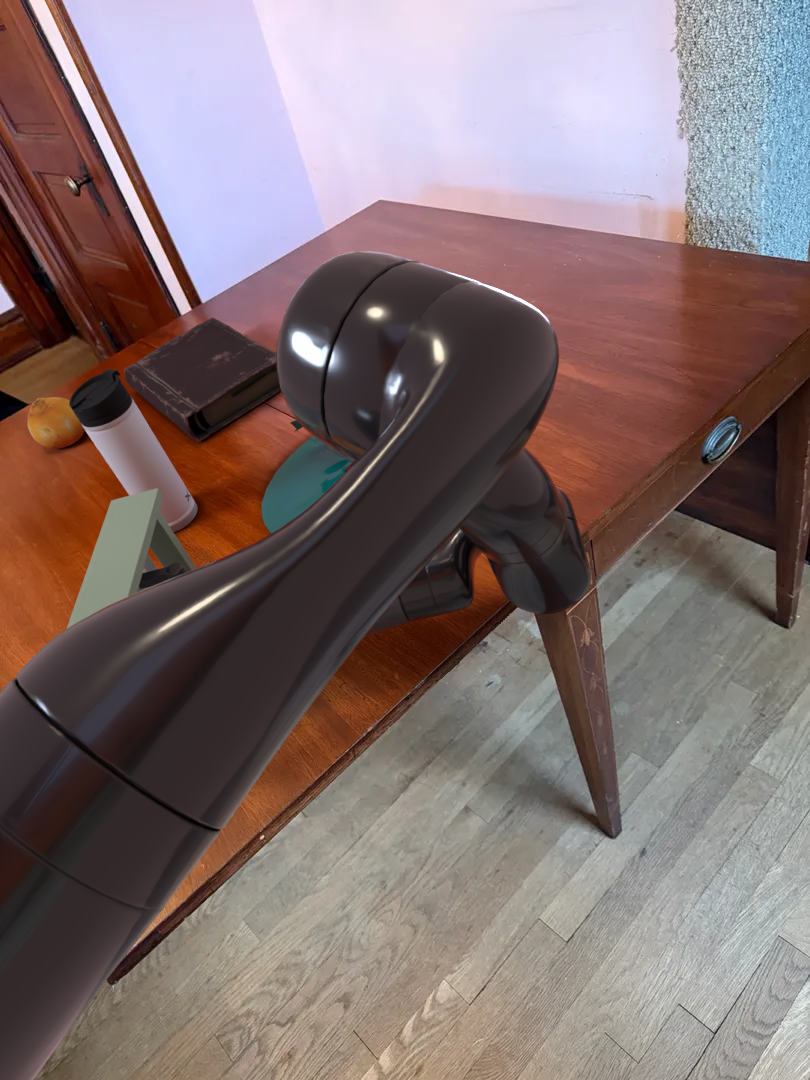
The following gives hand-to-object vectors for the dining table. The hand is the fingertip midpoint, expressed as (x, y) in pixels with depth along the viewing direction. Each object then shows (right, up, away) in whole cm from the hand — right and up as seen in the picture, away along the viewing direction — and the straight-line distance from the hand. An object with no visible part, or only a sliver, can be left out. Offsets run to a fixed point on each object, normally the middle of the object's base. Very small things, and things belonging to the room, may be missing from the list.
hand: (164, 639), depth 66 cm
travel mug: (-8, +12, +29) cm, 32 cm away
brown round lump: (-32, +25, +52) cm, 66 cm away
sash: (+3, -4, +6) cm, 8 cm away
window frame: (+1, -6, +6) cm, 9 cm away
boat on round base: (+17, +16, +24) cm, 34 cm away
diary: (-9, +33, +52) cm, 62 cm away
